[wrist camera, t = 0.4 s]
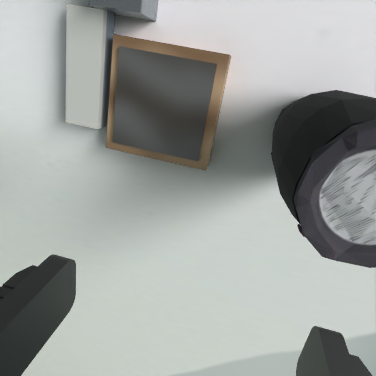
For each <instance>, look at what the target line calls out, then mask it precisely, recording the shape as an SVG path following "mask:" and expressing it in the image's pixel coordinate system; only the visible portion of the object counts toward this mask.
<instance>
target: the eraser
mask: <svg viewBox="0 0 376 376" xmlns="http://www.w3.org/2000/svg"><path fill="white" fill-rule="evenodd" d="M114 23H115V14H113V13H110V12H108V11H106V10H103V9H97V8H90V7H84V6H78V5H72V4H67V7H66V123H71V124H75V125H80V126H85V127H89V128H94V129H100V128H103V127H106V126H107V123H108V108H109V93H110V77H111V62H112V47H113V34H114Z"/></svg>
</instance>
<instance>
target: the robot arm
mask: <svg viewBox="0 0 376 376" xmlns="http://www.w3.org/2000/svg"><path fill="white" fill-rule="evenodd" d="M75 295H76V263H75V261H74V260H72V259H68V258H65V257H61V256H57V255H51V256H49V257H48V258H47V259H46V260H45V261H43V262H42V263H41V264H40V265H39V266H38V267H37V266H33V265H32V266H30V267H28V268H26V269H24V270H22V271H20V272H18V273H16V274H15V275H13V276H12V277H11V278H10V279H9V280H8V281H6V282H5V283H4V284H3V286H2V287H0V376H21V375H22V373H23V372H24V371H25V369H26V368H27V367H28V365H29V364H30V363H31V361H32V360H33V359H34V358H35V356H36V355H37V354H38V352H39V351H40V350H41V348H42V347H43V346H44V344H45V343H46V342H47V340H48V339H49V338H50V336H51V335H52V334H53V332H54V331H55V330H56V329H57V327H58V326H59V325H60V323H61V322H62V321H63V319H64V318H65V317H66V315H67V314H68V313H69V311H70V309H71V308H72V305H73V303H74V300H75ZM296 376H372V375H371V373H370V372H369V371H368V369H367V368H366V367H365V365H364V364H363V362H362V361H361V360H360V359H359V357H357V356H354V355H350V354H349V352H348V349H347V346H346V343H345V340H344V337H343V335H342V334H341V333H339V332H335V331H332V330H328V329H324V328H321V327H317V326H314V327H313V328H312V329H311V332H310V334H309V336H308V338H307V341H306V343H305V345H304V347H303V350H302V352H301V355H300V357H299V359H298V363H297V369H296Z"/></svg>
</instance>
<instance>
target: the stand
mask: <svg viewBox="0 0 376 376" xmlns="http://www.w3.org/2000/svg"><path fill="white" fill-rule="evenodd" d="M230 59H231V56H230V55H228V54H222V53H216V52H211V51H205V50H200V49H194V48H188V47H183V46H177V45H172V44H166V43H160V42H155V41H149V40H144V39H138V38H132V37H127V36H121V35H116V34H113V47H112V62H111V77H110V93H109V108H108V123H107V138H106V148H110V149H114V150H119V151H123V152H127V153H132V154H136V155H141V156H145V157H149V158H154V159H158V160H163V161H167V162H171V163H176V164H180V165H185V166H189V167H193V168H198V169H202V170H206V169H207V167H208V165H209V161H210V156H211V151H212V146H213V141H214V136H215V132H216V127H217V122H218V117H219V112H220V107H221V103H222V98H223V93H224V88H225V83H226V78H227V74H228V69H229V64H230Z"/></svg>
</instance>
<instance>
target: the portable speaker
mask: <svg viewBox="0 0 376 376" xmlns="http://www.w3.org/2000/svg"><path fill="white" fill-rule="evenodd" d="M271 155H272V161H273V165H274V169H275V173H276V178H277V182H278V186H279V191H280V194H281V196H282V198H283V199H284V201H285V203H286V205H287V206H288V208H289V210H290V212H291V213H292V215H293V216H294V217H295V218H296V220H297V221H298V222H299V223H300V224H298V229H299V231H300V233H301V234H302V235H303V236H304V237H306V238H307V239H308V240H309V242H310V243H311V244H312V245H313V247H314V248H315V249H316V250H317V251H318V252H319V253H320V255H321V256H322V257H325V258H328V259H332V260H336V261H340V262H345V263H350V264H355V265H360V266H364V267H369V268H372V267H376V98H372V97H368V96H363V95H358V94H353V93H348V92H344V91H339V90H334V91H328V92H322V93H316V94H311V95H308V96H306V97H304V98H301V99H299V100H297V101H295V102H293V103H292V104H290V105H289V106H287V107H286V108H284V109H283V110H282V112H281V114H280V116H279V118H278V120H277V122H276V123H275V127H274V131H273V141H272V152H271ZM300 225H301V226H300Z"/></svg>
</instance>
